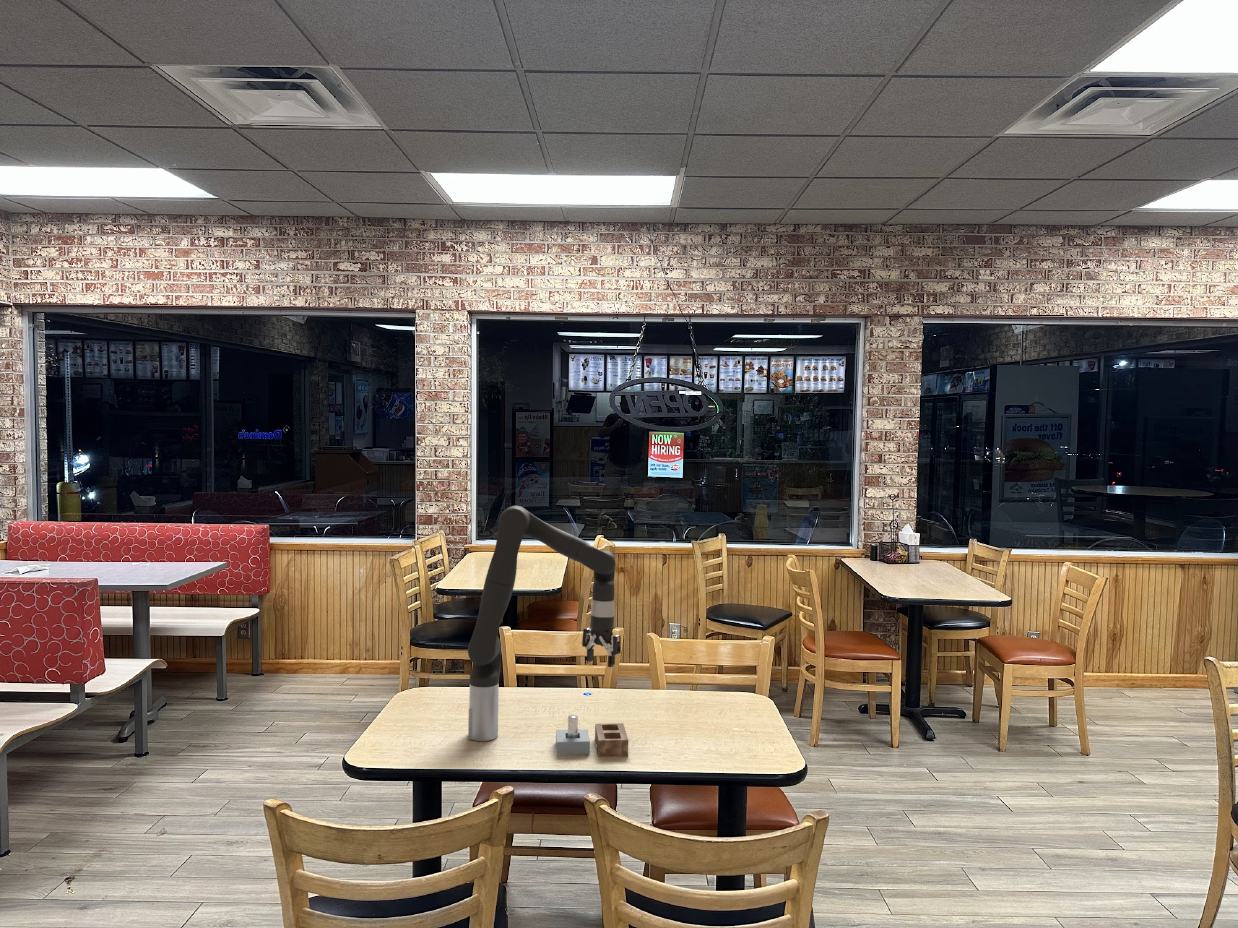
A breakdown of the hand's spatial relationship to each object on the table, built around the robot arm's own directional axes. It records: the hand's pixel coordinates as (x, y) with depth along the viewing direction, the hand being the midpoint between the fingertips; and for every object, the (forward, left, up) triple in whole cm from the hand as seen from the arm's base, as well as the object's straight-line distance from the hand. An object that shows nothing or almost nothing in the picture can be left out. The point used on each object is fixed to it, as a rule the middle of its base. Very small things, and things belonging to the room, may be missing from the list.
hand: (600, 663), depth 251 cm
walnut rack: (+3, -8, -24) cm, 25 cm away
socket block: (-9, -8, -24) cm, 27 cm away
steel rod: (-9, -8, -24) cm, 27 cm away
